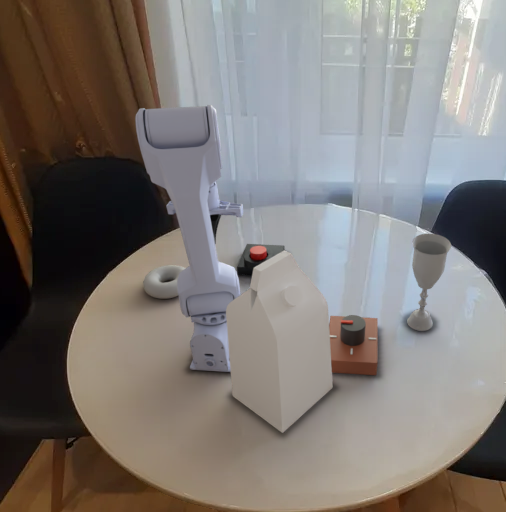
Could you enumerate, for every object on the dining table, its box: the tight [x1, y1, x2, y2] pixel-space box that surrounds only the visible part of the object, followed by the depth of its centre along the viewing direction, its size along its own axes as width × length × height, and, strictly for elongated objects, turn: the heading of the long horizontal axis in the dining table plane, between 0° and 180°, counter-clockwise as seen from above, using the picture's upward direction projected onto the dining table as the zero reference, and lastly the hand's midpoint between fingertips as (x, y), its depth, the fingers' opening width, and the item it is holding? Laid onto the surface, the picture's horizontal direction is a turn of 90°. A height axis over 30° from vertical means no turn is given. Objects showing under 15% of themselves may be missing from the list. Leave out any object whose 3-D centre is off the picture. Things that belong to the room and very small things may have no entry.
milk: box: [226, 249, 333, 434], centre depth 73 cm, size 12×12×26 cm
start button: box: [250, 246, 267, 260], centre depth 107 cm, size 4×4×2 cm
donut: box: [142, 264, 187, 300], centre depth 103 cm, size 10×4×10 cm
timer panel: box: [329, 315, 379, 376], centre depth 88 cm, size 12×9×3 cm
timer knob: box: [340, 314, 366, 346], centre depth 86 cm, size 4×4×4 cm
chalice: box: [406, 233, 452, 332], centre depth 90 cm, size 7×7×18 cm
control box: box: [236, 243, 286, 277], centre depth 110 cm, size 11×9×4 cm
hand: (211, 245), depth 99 cm, fingers closed
